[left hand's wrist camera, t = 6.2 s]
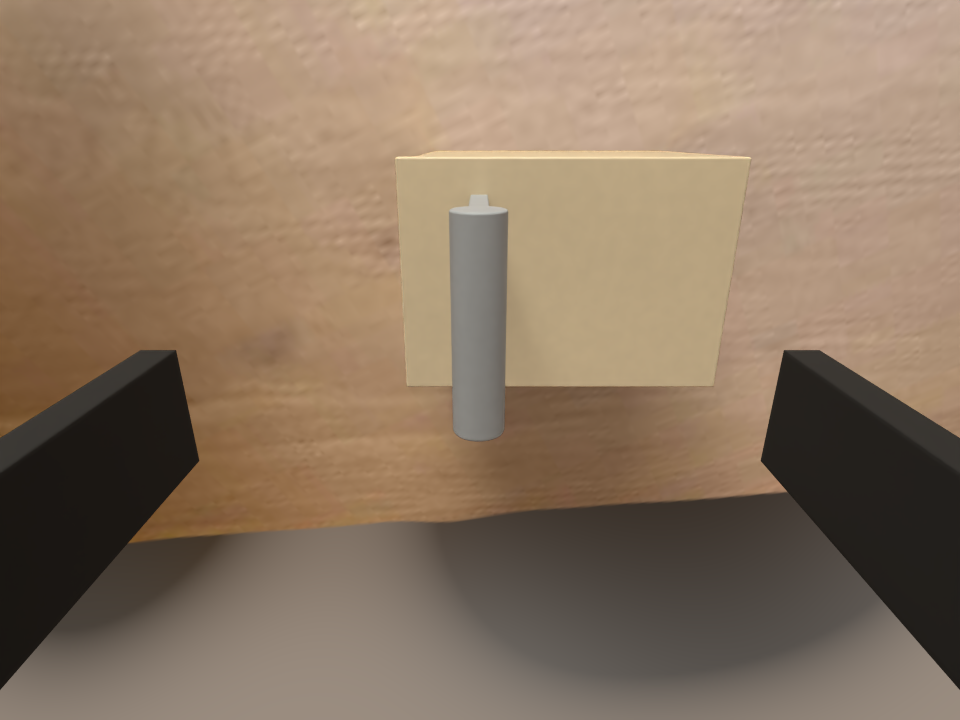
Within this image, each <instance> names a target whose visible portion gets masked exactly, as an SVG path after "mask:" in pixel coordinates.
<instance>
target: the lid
mask: <svg viewBox="0 0 960 720" xmlns="http://www.w3.org/2000/svg"><path fill="white" fill-rule="evenodd" d="M750 163H751V158H750V157H396V158H395V171H396V191H397V210H398V229H399V248H400V268H401V287H402V306H403V325H404V345H405V364H406V383H407V386H408V387H452V397H453V430H454V432H455V434H456V435H457V436H459V437H460V438H462V439H465V440H469V441H489V440H492V439H495V438H497V437H499V436H500V435H501V434H502V433H503V431H504V423H505V387H713V386H714V381H715V374H716V368H717V362H718V356H719V350H720V344H721V338H722V332H723V326H724V320H725V314H726V308H727V302H728V296H729V290H730V284H731V278H732V272H733V266H734V260H735V254H736V248H737V242H738V236H739V230H740V224H741V218H742V212H743V206H744V200H745V194H746V188H747V182H748V175H749V169H750Z"/></svg>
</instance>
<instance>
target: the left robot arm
mask: <svg viewBox="0 0 960 720" xmlns="http://www.w3.org/2000/svg"><path fill="white" fill-rule="evenodd" d="M198 462H199V457H198V453H197V448H196V443H195V438H194V434H193V429H192V424H191V419H190V415H189V410H188V405H187V400H186V396H185V391H184V386H183V381H182V376H181V372H180V367H179V362H178V357H177V353H176V350H140V351H139V352H137V353H135V354H134V355H132V356H131V357H129V358H127V359H126V360H124V361H123V362H121V363H119V364H118V365H116V366H115V367H113V368H111V369H110V370H108V371H107V372H105V373H103V374H102V375H100V376H99V377H97V378H96V379H94V380H92V381H91V382H89V383H88V384H86V385H84V386H83V387H81V388H80V389H78V390H76V391H75V392H73V393H72V394H70V395H68V396H67V397H65V398H64V399H62V400H60V401H59V402H57V403H56V404H54V405H52V406H51V407H49V408H48V409H46V410H44V411H43V412H41V413H40V414H38V415H36V416H35V417H33V418H32V419H30V420H28V421H27V422H25V423H24V424H22V425H20V426H19V427H17V428H16V429H14V430H12V431H11V432H9V433H8V434H6V435H4V436H3V437H1V438H0V689H1V688H2V687H3V686H4V685H5V684H6V683H7V681H8V680H9V679H10V678H11V677H12V676H13V674H14V673H15V672H16V671H17V670H18V669H19V668H20V666H21V665H22V664H23V663H24V662H25V661H26V660H27V658H28V657H29V656H30V655H31V654H32V653H33V651H34V650H35V649H36V648H37V647H38V646H39V644H40V643H41V642H42V641H43V640H44V639H45V638H46V637H47V635H48V634H49V633H50V632H51V631H52V630H53V628H54V627H55V626H56V625H57V624H58V623H59V622H60V620H61V619H62V618H63V617H64V616H65V615H66V614H67V612H68V611H69V610H70V609H71V608H72V607H73V605H74V604H75V603H76V602H77V601H78V600H79V599H80V597H81V596H82V595H83V594H84V593H85V592H86V591H87V589H88V588H89V587H90V586H91V585H92V584H93V582H94V581H95V580H96V579H97V578H98V577H99V576H100V574H101V573H102V572H103V571H104V570H105V569H106V568H107V566H108V565H109V564H110V563H111V562H112V561H113V559H114V558H115V557H116V556H117V555H118V554H119V553H120V551H121V550H122V549H123V548H124V547H125V546H126V545H127V543H128V542H129V541H130V540H131V539H132V538H133V536H134V535H135V534H136V533H137V532H138V531H139V530H140V528H141V527H142V526H143V525H144V524H145V523H146V522H147V520H148V519H149V518H150V517H151V516H152V515H153V513H154V512H155V511H156V510H157V509H158V508H159V507H160V505H161V504H162V503H163V502H164V501H165V500H166V498H167V497H168V496H169V495H170V494H171V493H172V492H173V490H174V489H175V488H176V487H177V486H178V485H179V484H180V482H181V481H182V480H183V479H184V478H185V477H186V475H187V474H188V473H189V472H190V471H191V470H192V469H193V467H194V466H195V465H196V464H197V463H198ZM761 462H762V463H763V464H764V465H765V466H766V467H767V469H768V470H769V471H770V472H771V473H772V474H773V475H774V477H775V478H776V479H777V480H778V481H779V482H780V484H781V485H782V486H783V487H784V488H785V489H786V490H787V492H788V493H789V494H790V495H791V496H792V497H793V498H794V500H795V501H796V502H797V503H798V504H799V505H800V507H801V508H802V509H803V510H804V511H805V512H806V513H807V515H808V516H809V517H810V518H811V519H812V520H813V521H814V523H815V524H816V525H817V526H818V527H819V528H820V530H821V531H822V532H823V533H824V534H825V535H826V536H827V538H828V539H829V540H830V541H831V542H832V543H833V544H834V546H835V547H836V548H837V549H838V550H839V551H840V553H841V554H842V555H843V556H844V557H845V558H846V559H847V560H848V562H849V563H850V564H851V565H852V566H853V567H854V569H855V570H856V571H857V572H858V573H859V574H860V575H861V577H862V578H863V579H864V580H865V581H866V582H867V584H868V585H869V586H870V587H871V588H872V589H873V591H874V592H875V593H876V594H877V595H878V596H879V597H880V599H881V600H882V601H883V602H884V603H885V604H886V605H887V607H888V608H889V609H890V610H891V611H892V612H893V613H894V615H895V616H896V617H897V618H898V619H899V620H900V622H901V623H902V624H903V625H904V626H905V627H906V628H907V630H908V631H909V632H910V633H911V634H912V635H913V637H914V638H915V639H916V640H917V641H918V642H919V643H920V645H921V646H922V647H923V648H924V649H925V650H926V651H927V653H928V654H929V655H930V656H931V657H932V658H933V659H934V661H935V662H936V663H937V664H938V665H939V666H940V668H941V669H942V670H943V671H944V672H945V673H946V674H947V676H948V677H949V678H950V679H951V680H952V681H953V683H954V684H955V685H956V686H957V687H958V688H959V689H960V438H959V437H957V436H956V435H954V434H952V433H951V432H949V431H948V430H946V429H944V428H943V427H941V426H940V425H938V424H936V423H935V422H933V421H932V420H930V419H928V418H927V417H925V416H924V415H922V414H920V413H919V412H917V411H916V410H914V409H912V408H911V407H909V406H908V405H906V404H904V403H903V402H901V401H900V400H898V399H896V398H895V397H893V396H892V395H890V394H888V393H887V392H885V391H884V390H882V389H880V388H879V387H877V386H876V385H874V384H872V383H871V382H869V381H868V380H866V379H864V378H863V377H861V376H860V375H858V374H857V373H855V372H853V371H852V370H850V369H849V368H847V367H845V366H844V365H842V364H841V363H839V362H837V361H836V360H834V359H833V358H831V357H829V356H828V355H826V354H825V353H823V352H821V351H820V350H784V353H783V357H782V362H781V367H780V372H779V376H778V381H777V386H776V391H775V396H774V400H773V405H772V410H771V415H770V419H769V424H768V429H767V434H766V438H765V443H764V448H763V453H762V457H761Z"/></svg>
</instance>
